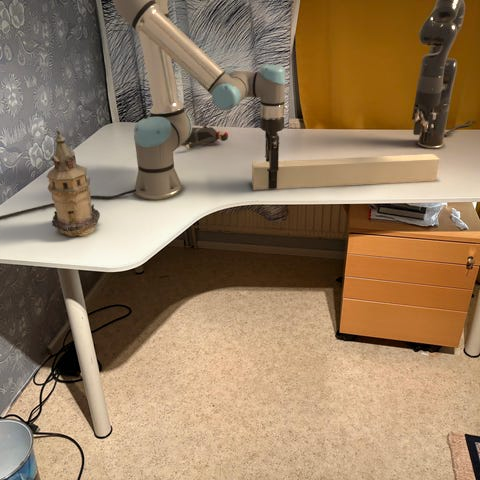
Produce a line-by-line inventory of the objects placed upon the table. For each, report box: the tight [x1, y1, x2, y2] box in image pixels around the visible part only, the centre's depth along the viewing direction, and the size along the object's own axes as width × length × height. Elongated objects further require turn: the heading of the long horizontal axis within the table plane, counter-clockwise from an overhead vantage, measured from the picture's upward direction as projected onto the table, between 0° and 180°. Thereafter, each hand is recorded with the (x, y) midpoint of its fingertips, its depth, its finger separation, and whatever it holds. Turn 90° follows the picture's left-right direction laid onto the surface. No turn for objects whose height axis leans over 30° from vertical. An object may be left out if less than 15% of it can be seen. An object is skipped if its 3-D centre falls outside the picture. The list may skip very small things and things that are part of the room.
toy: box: [184, 124, 229, 150], centre depth 219 cm, size 26×6×30 cm
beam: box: [251, 153, 440, 191], centre depth 180 cm, size 62×5×8 cm, turn 95°
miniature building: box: [46, 129, 101, 237], centre depth 148 cm, size 13×14×30 cm
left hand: (271, 184), depth 180 cm, fingers open, 6 cm apart
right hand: (421, 138), depth 177 cm, fingers open, 8 cm apart
